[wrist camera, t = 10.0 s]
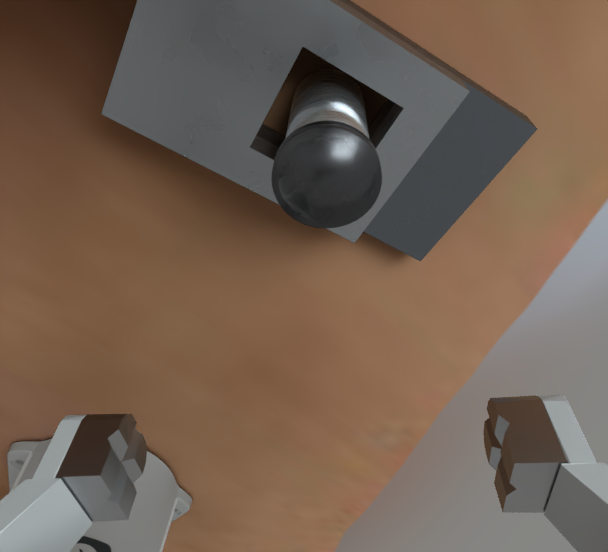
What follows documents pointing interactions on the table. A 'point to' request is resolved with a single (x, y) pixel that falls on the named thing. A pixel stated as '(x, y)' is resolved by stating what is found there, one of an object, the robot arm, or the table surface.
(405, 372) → the table surface
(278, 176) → the pin
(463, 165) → the square-holed grey plate
